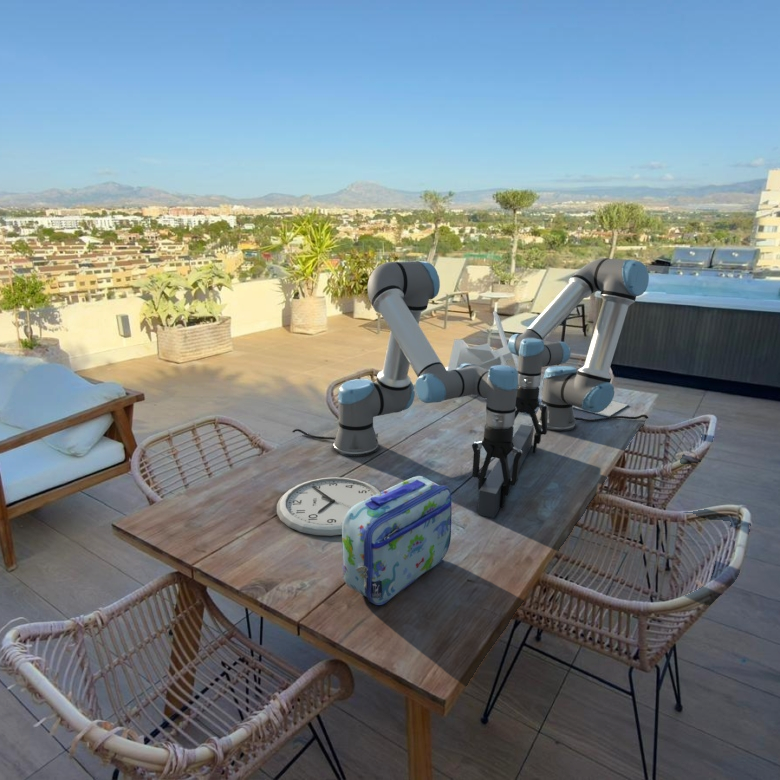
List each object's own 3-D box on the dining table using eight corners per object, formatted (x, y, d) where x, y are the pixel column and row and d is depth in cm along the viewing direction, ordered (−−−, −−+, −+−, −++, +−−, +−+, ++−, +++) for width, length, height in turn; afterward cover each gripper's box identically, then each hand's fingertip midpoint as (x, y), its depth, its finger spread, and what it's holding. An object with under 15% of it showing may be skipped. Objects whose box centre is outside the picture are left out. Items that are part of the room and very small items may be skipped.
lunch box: (371, 618, 102) (371, 524, 95) (336, 591, 109) (334, 502, 103) (455, 562, 119) (460, 479, 113) (420, 542, 126) (423, 463, 120)
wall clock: (392, 527, 129) (268, 531, 127) (391, 533, 130) (269, 537, 127) (383, 473, 158) (282, 475, 155) (383, 478, 158) (282, 480, 156)
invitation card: (608, 416, 214) (573, 407, 224) (608, 416, 214) (573, 408, 224) (628, 404, 229) (594, 396, 238) (628, 405, 229) (594, 397, 238)
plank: (518, 443, 186) (520, 424, 184) (531, 445, 185) (533, 426, 182) (477, 514, 140) (479, 490, 137) (494, 518, 138) (496, 494, 136)
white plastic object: (461, 429, 252) (437, 405, 227) (444, 352, 274) (420, 323, 250) (535, 404, 240) (518, 377, 215) (510, 326, 262) (492, 293, 237)
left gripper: (463, 423, 138) (458, 502, 145) (530, 435, 131) (521, 517, 138) (471, 414, 145) (465, 490, 152) (535, 425, 138) (527, 504, 145)
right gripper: (493, 384, 173) (488, 447, 180) (558, 393, 165) (551, 459, 172) (499, 378, 180) (494, 440, 186) (562, 387, 171) (554, 451, 178)
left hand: (492, 502), depth 145 cm, fingers closed on plank, 4 cm apart
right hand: (521, 449), depth 179 cm, fingers open, 8 cm apart
